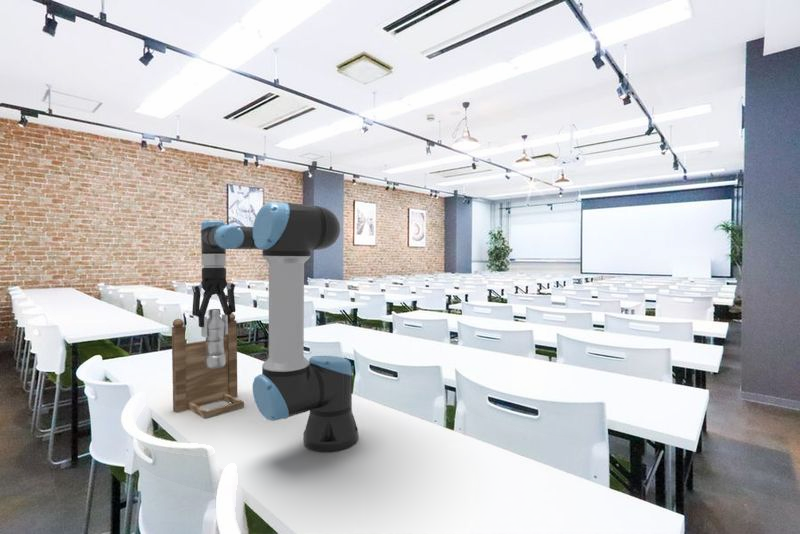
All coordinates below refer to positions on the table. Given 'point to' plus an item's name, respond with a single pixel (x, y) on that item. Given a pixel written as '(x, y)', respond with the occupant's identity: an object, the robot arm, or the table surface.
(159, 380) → the table surface
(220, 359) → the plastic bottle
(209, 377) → the headboard holder
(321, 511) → the table surface
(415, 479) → the table surface
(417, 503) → the table surface
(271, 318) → the robot arm
